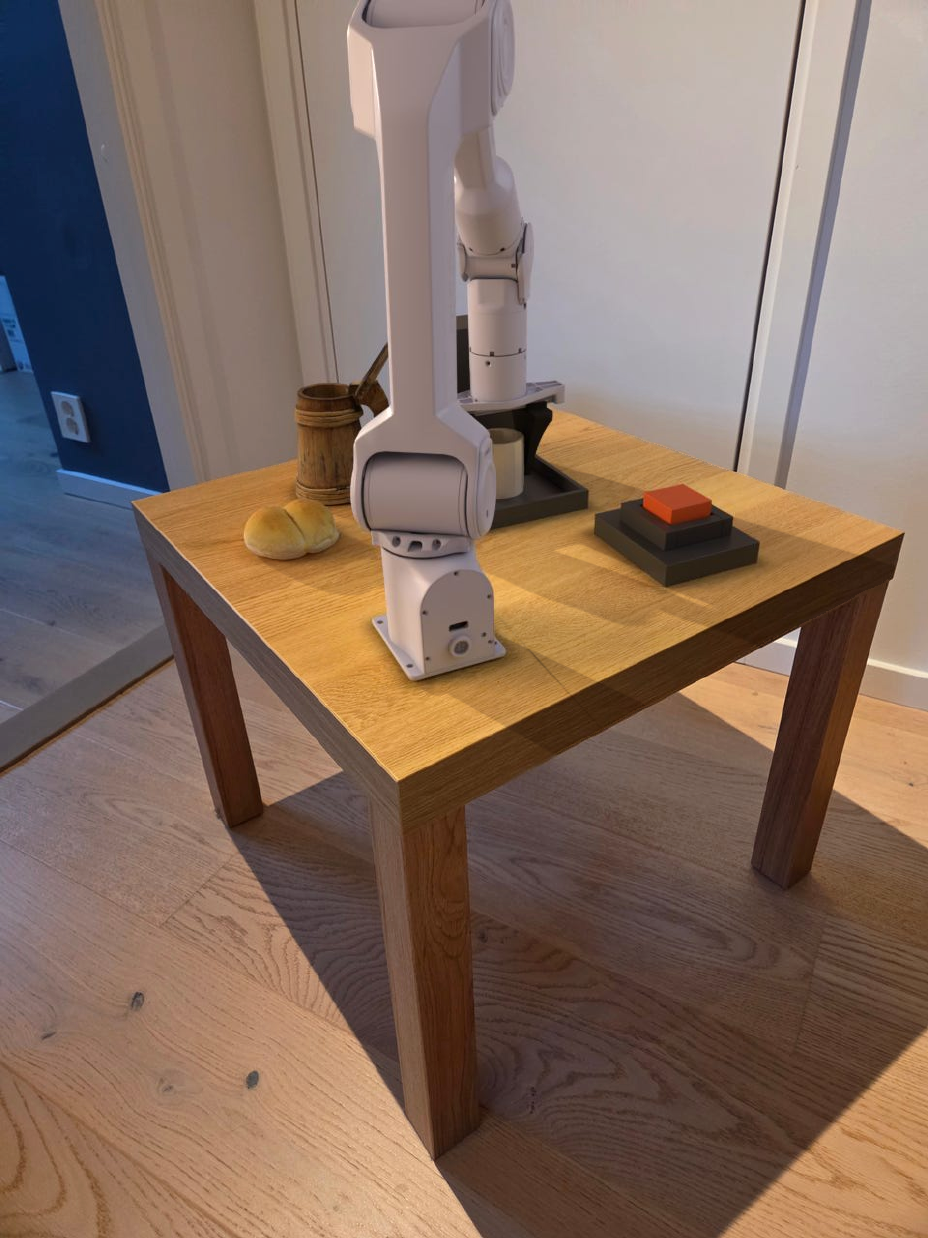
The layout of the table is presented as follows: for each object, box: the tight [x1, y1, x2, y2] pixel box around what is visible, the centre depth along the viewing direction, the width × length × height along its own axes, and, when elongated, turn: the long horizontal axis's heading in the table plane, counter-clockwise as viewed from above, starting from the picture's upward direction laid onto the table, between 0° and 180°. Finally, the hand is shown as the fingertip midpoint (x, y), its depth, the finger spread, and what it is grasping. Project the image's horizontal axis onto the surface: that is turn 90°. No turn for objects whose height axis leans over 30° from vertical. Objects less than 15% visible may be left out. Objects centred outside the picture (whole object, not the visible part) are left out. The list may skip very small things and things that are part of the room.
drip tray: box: [489, 453, 590, 531], centre depth 92 cm, size 15×13×2 cm
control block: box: [593, 497, 761, 588], centre depth 80 cm, size 12×10×4 cm
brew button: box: [643, 483, 713, 525], centre depth 78 cm, size 4×4×2 cm
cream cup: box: [487, 428, 524, 499], centre depth 91 cm, size 5×5×6 cm
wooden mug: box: [294, 340, 390, 506], centre depth 90 cm, size 9×14×18 cm, turn 82°
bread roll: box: [243, 498, 340, 561], centre depth 83 cm, size 8×9×4 cm
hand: (499, 477), depth 92 cm, fingers closed on cream cup, 5 cm apart
